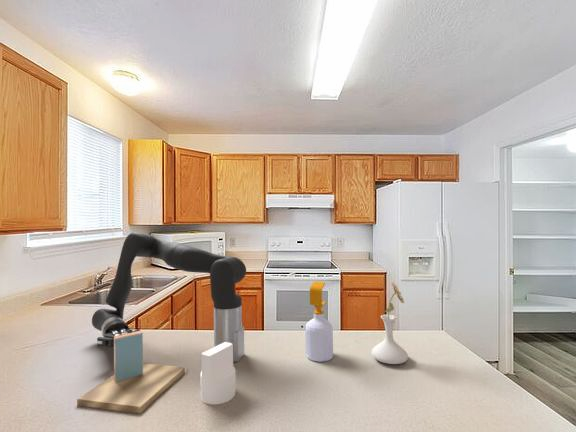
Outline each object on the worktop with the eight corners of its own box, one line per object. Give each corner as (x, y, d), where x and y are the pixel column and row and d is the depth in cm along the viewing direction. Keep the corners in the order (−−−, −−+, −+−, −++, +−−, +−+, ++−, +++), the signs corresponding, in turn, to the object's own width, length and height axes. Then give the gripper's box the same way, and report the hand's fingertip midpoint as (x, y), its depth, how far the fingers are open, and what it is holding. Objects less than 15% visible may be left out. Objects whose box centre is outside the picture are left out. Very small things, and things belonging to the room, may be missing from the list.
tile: (114, 379, 86) (113, 336, 86) (141, 371, 90) (140, 330, 90) (115, 382, 84) (115, 339, 84) (143, 374, 88) (142, 333, 88)
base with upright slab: (218, 408, 74) (217, 359, 74) (193, 397, 79) (192, 351, 79) (242, 390, 82) (241, 345, 82) (218, 381, 87) (217, 339, 87)
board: (185, 372, 92) (184, 367, 92) (140, 413, 73) (140, 406, 73) (133, 367, 96) (133, 362, 96) (77, 405, 76) (77, 398, 76)
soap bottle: (336, 352, 104) (334, 281, 105) (328, 364, 96) (326, 286, 96) (311, 348, 108) (310, 279, 108) (302, 359, 100) (300, 284, 100)
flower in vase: (399, 371, 90) (397, 287, 91) (365, 360, 98) (363, 282, 99) (415, 357, 100) (414, 280, 101) (383, 347, 108) (381, 277, 108)
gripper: (92, 323, 102) (98, 338, 88) (135, 315, 110) (147, 327, 97) (92, 346, 102) (99, 364, 88) (135, 336, 110) (147, 351, 96)
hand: (124, 345), depth 92 cm, fingers closed
